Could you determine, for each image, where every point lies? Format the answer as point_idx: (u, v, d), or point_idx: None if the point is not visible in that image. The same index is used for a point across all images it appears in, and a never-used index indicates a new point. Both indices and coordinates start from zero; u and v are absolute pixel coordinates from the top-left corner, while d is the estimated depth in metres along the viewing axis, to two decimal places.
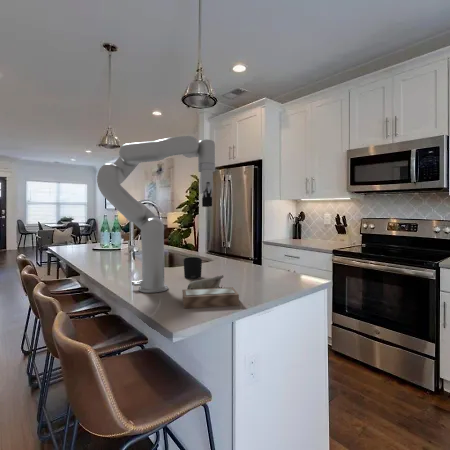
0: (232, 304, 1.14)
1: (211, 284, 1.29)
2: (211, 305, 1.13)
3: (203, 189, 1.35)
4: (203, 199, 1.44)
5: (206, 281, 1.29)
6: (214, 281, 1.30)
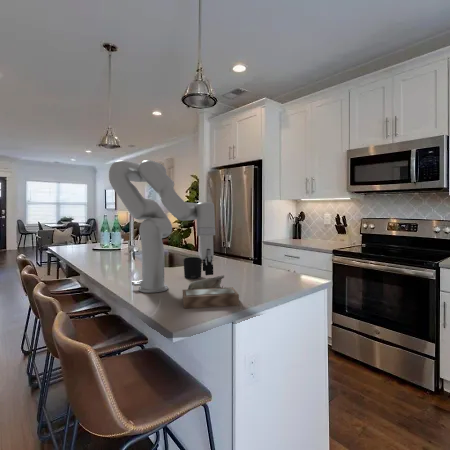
0: (232, 304, 1.14)
1: (212, 284, 1.29)
2: (211, 305, 1.13)
3: (203, 257, 1.25)
4: (203, 263, 1.34)
5: (207, 281, 1.29)
6: (215, 281, 1.30)
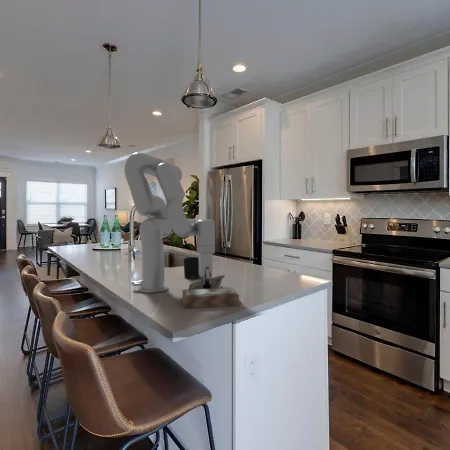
0: (232, 304, 1.14)
1: (213, 284, 1.29)
2: (211, 305, 1.13)
3: (202, 274, 1.25)
4: None
5: None
6: (215, 281, 1.30)
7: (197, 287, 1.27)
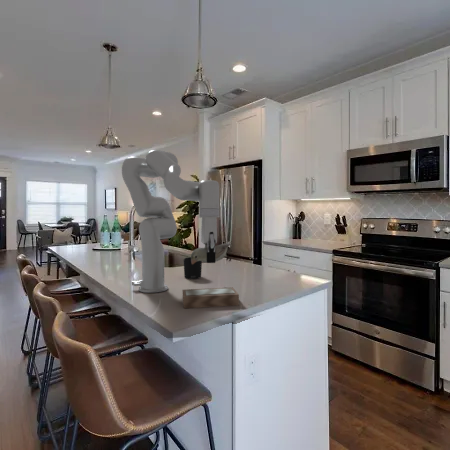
0: (232, 304, 1.14)
1: (217, 252, 1.16)
2: (211, 305, 1.13)
3: (205, 240, 1.12)
4: None
5: None
6: (221, 249, 1.17)
7: (200, 255, 1.15)
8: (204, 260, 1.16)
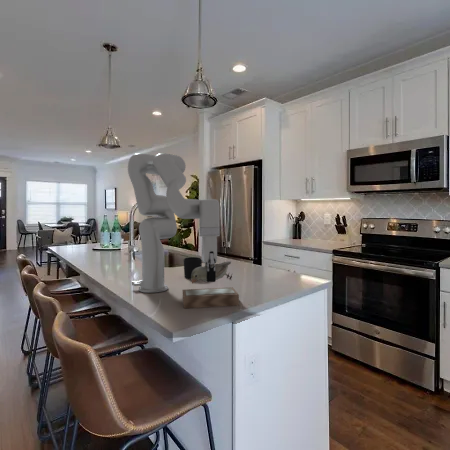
0: (232, 304, 1.14)
1: (218, 271, 1.16)
2: (211, 305, 1.13)
3: (205, 260, 1.12)
4: None
5: None
6: (221, 267, 1.17)
7: (200, 274, 1.14)
8: (204, 279, 1.15)
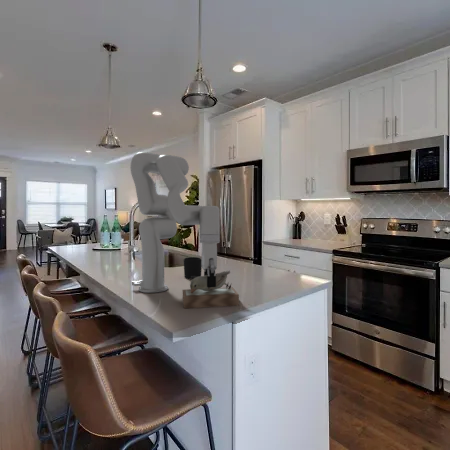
0: (232, 304, 1.14)
1: (217, 280, 1.16)
2: (211, 305, 1.13)
3: (205, 267, 1.12)
4: (205, 273, 1.22)
5: None
6: (220, 277, 1.17)
7: (199, 284, 1.15)
8: (203, 289, 1.16)
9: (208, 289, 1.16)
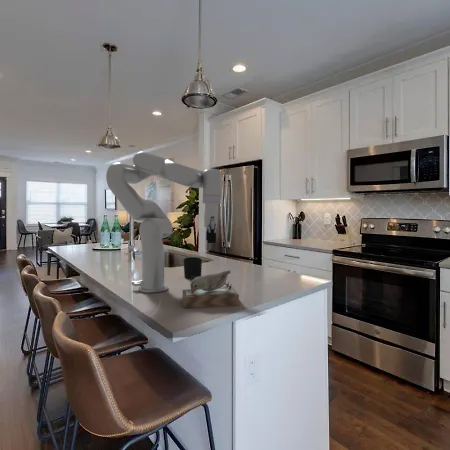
0: (232, 304, 1.14)
1: (217, 280, 1.16)
2: (211, 305, 1.13)
3: (207, 224, 1.23)
4: (207, 232, 1.33)
5: (212, 277, 1.16)
6: (220, 277, 1.17)
7: (200, 284, 1.15)
8: (204, 289, 1.16)
9: (208, 289, 1.16)
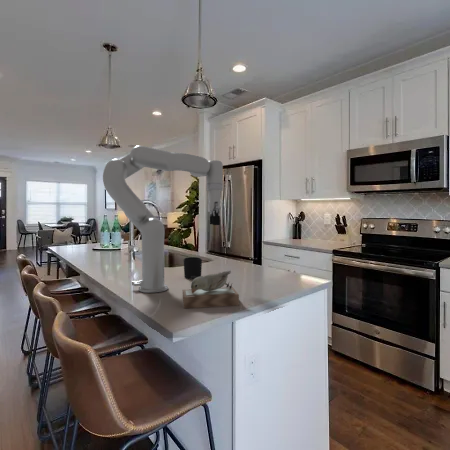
0: (232, 304, 1.14)
1: (217, 280, 1.16)
2: (211, 305, 1.13)
3: (211, 208, 1.40)
4: (211, 217, 1.50)
5: (212, 277, 1.16)
6: (221, 277, 1.17)
7: (200, 284, 1.15)
8: (204, 289, 1.16)
9: (209, 289, 1.16)
